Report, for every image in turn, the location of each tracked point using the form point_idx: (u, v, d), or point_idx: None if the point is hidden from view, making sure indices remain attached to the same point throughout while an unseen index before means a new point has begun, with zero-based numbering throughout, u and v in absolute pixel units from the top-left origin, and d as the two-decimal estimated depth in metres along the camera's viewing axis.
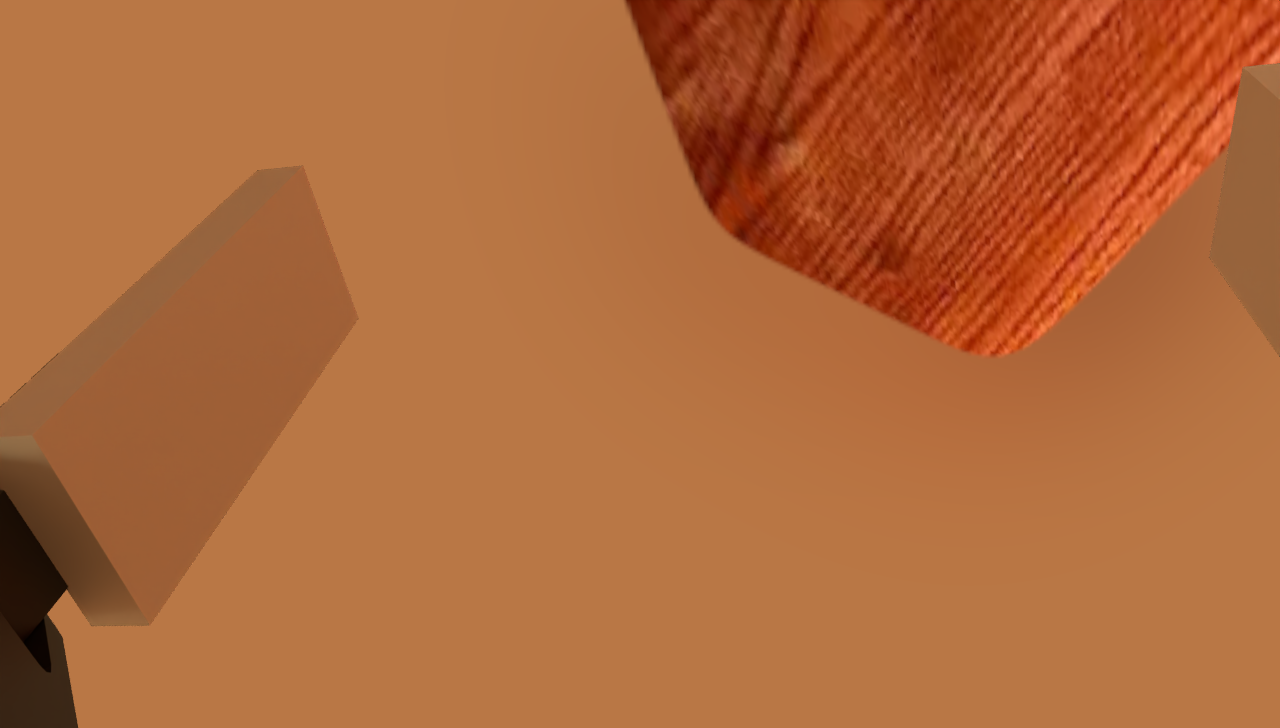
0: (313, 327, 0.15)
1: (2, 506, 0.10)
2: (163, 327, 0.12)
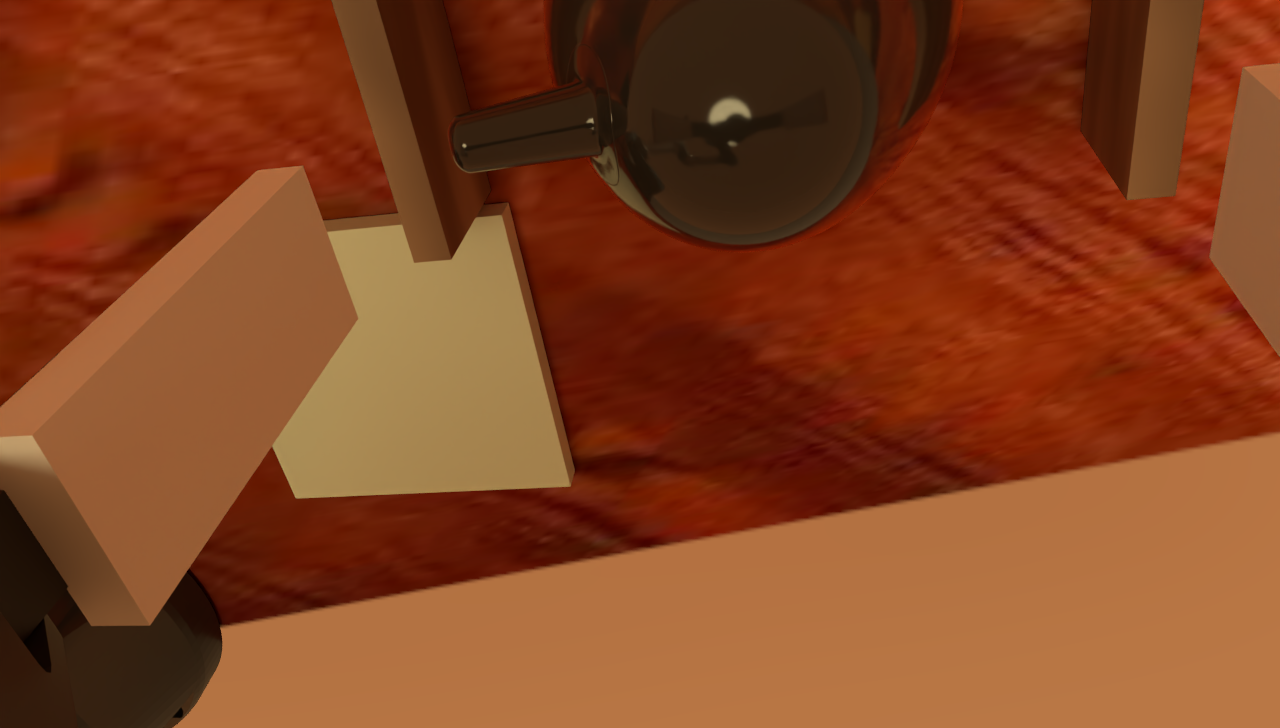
0: (313, 327, 0.15)
1: (2, 506, 0.10)
2: (163, 327, 0.12)
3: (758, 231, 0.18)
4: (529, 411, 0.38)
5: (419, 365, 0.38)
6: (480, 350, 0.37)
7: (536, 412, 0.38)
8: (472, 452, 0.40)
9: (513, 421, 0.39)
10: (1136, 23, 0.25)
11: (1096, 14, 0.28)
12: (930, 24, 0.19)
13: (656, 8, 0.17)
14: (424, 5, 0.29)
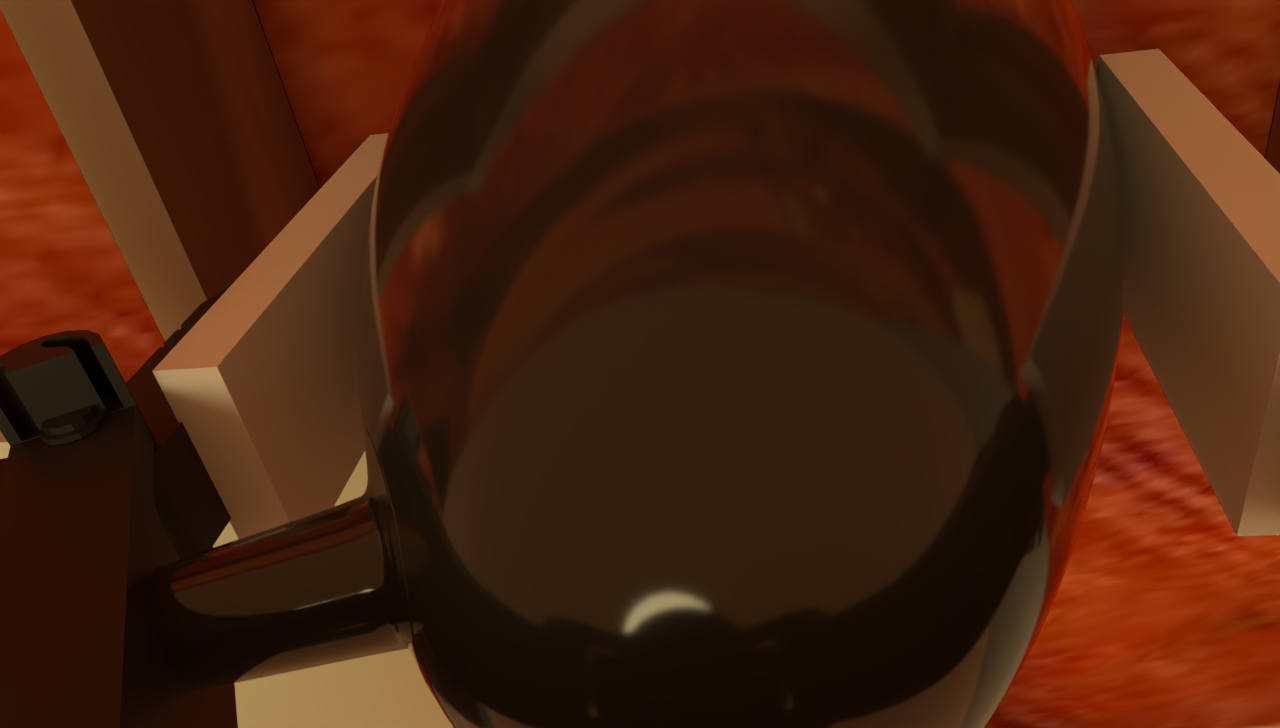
0: None
1: (181, 437, 0.11)
2: (312, 274, 0.12)
3: None
4: None
5: None
6: None
7: None
8: (382, 690, 0.30)
9: None
10: None
11: None
12: (1101, 384, 0.09)
13: (494, 445, 0.07)
14: (263, 156, 0.20)
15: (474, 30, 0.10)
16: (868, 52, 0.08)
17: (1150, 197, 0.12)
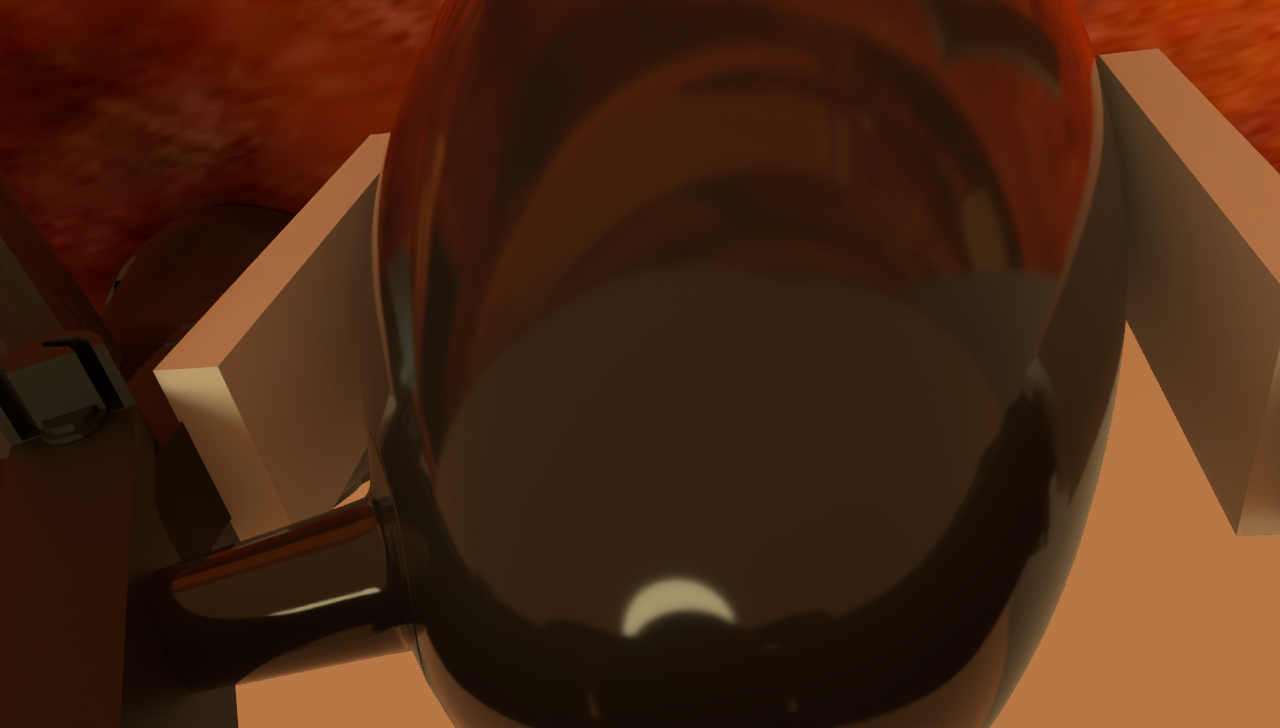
0: None
1: (181, 436, 0.11)
2: (313, 274, 0.12)
3: None
4: None
5: None
6: None
7: None
8: None
9: None
10: None
11: None
12: (1106, 385, 0.09)
13: (498, 445, 0.07)
14: None
15: (475, 30, 0.10)
16: (871, 52, 0.08)
17: (1150, 196, 0.12)
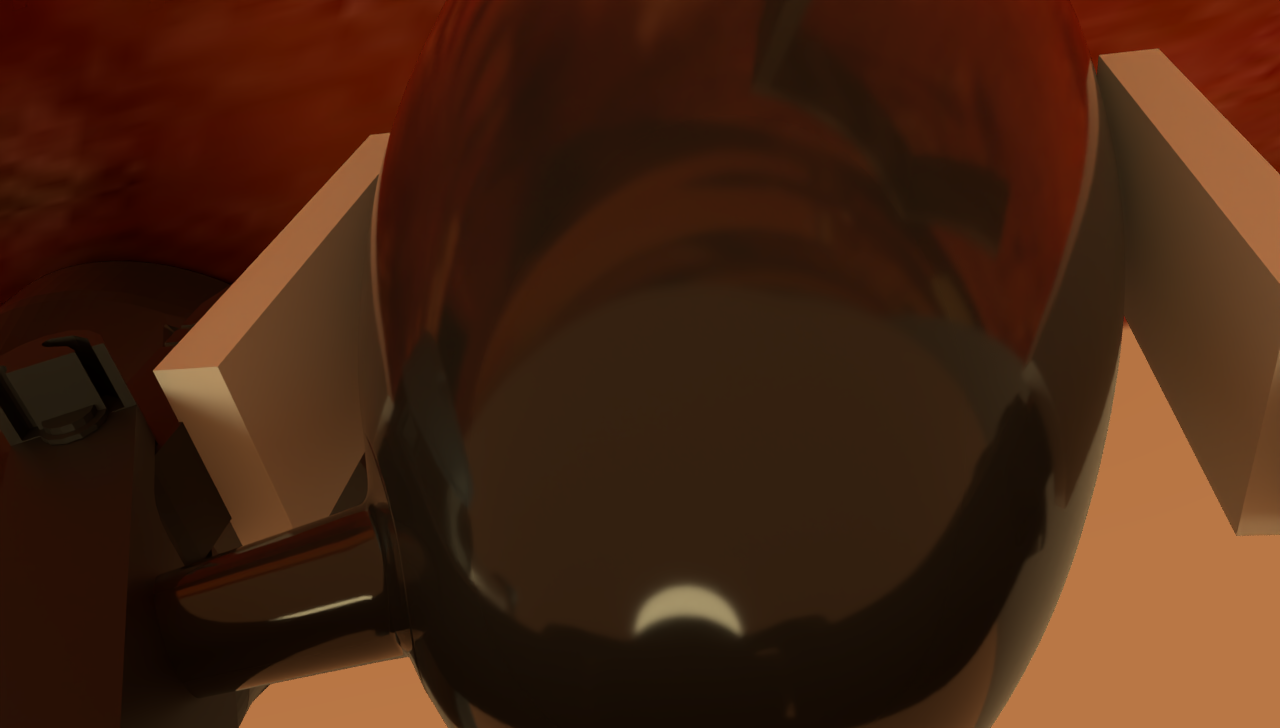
0: None
1: (182, 436, 0.11)
2: (312, 274, 0.12)
3: None
4: None
5: None
6: None
7: None
8: None
9: None
10: None
11: None
12: (1103, 390, 0.09)
13: (494, 455, 0.07)
14: None
15: (473, 35, 0.10)
16: (867, 60, 0.08)
17: (1150, 196, 0.12)
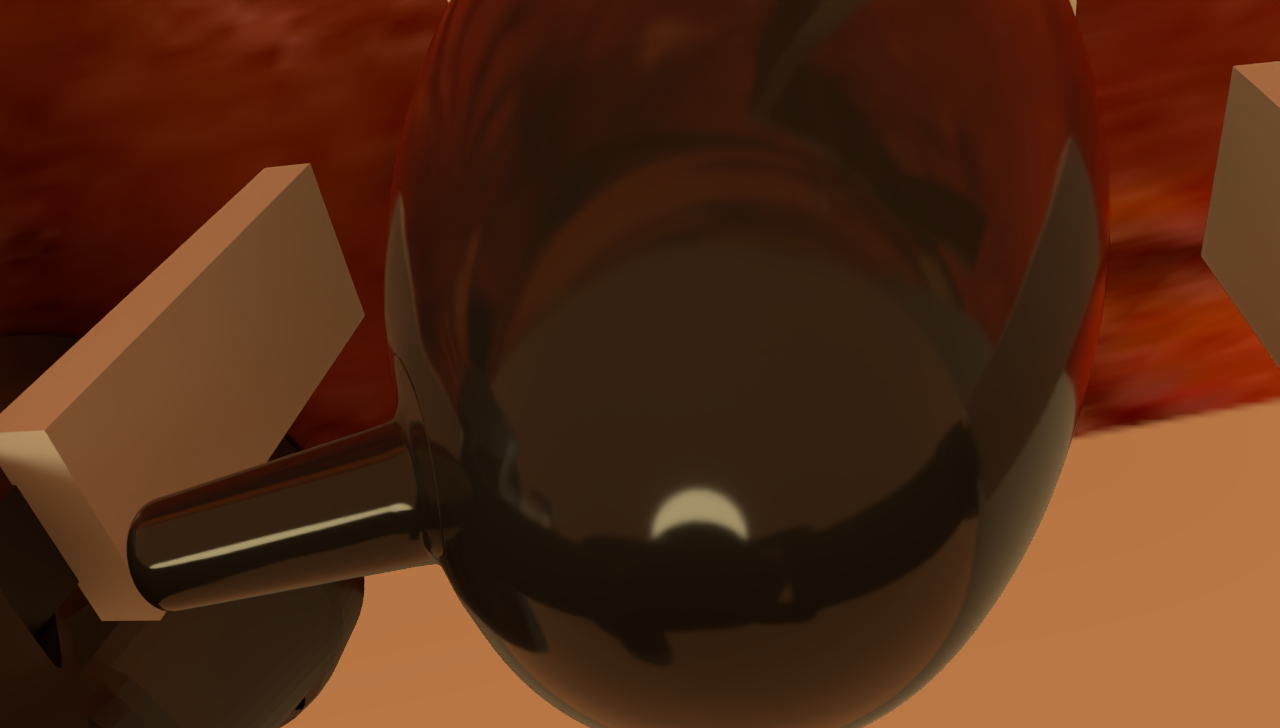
0: (320, 324, 0.15)
1: (14, 501, 0.10)
2: (173, 323, 0.12)
3: None
4: None
5: None
6: None
7: None
8: None
9: None
10: None
11: None
12: (1087, 313, 0.09)
13: (522, 346, 0.08)
14: None
15: None
16: (867, 1, 0.09)
17: None
